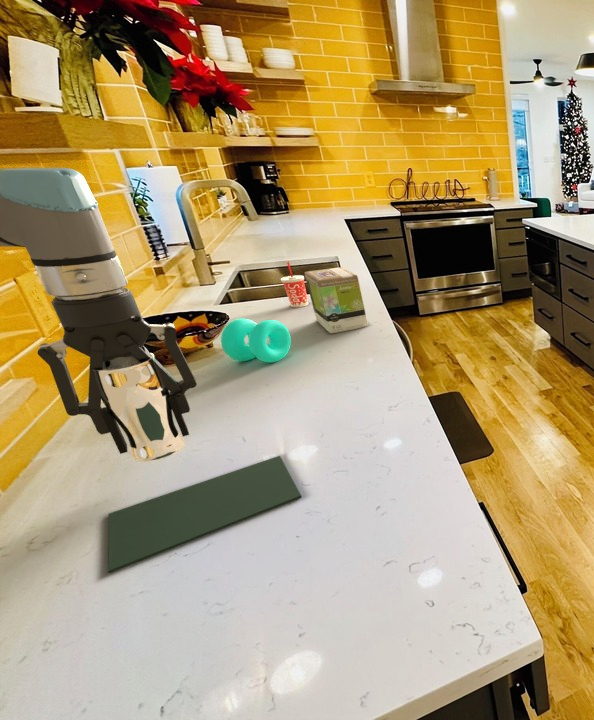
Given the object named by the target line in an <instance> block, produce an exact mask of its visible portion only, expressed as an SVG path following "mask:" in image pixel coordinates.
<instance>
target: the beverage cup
mask: <svg viewBox="0 0 594 720" xmlns="http://www.w3.org/2000/svg"><path fill="white" fill-rule="evenodd" d="M286 264H287V267H288V271H289V274H290V275H288V276H284V277H281V278H280V282H281V283H282V284H283V287H284V290H285V292H286V296H287V298H288V301H289V303H290V306H291V308H302V307H306V306H308V305H309V299H308V296H307V295H308V293H307V290H306V285H305V275H300V274H298V275H297V274H296V275H293V272H292V268H291V265H290V262H289V261H286Z"/></svg>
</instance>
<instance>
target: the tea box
mask: <svg viewBox="0 0 594 720" xmlns="http://www.w3.org/2000/svg"><path fill="white" fill-rule="evenodd" d="M304 278H305V282H306V285H307V288H308V292H309V297H310V300H311V304H312V309H313V313H314V316H315V319H316V322H317V323H319V325H321V327H323V328H324V329H325V330H326V331H327V332H328V333H329V334H336V333H337V334H338V333H342V332H348V331H353V330H356V329H361V328H365V327H366V328H367V327H368V326H369V323H368V319H367V313H366V309H365V304H364V299H363V295H362V290H361V286H360V280H359V277H358V275H357V274H356V273H354V272H351V271H350V270H348V269H347V268H344V267H343V266H341V267H340V266H339V267H333V268H326V269H318V270H310V271H304Z"/></svg>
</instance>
